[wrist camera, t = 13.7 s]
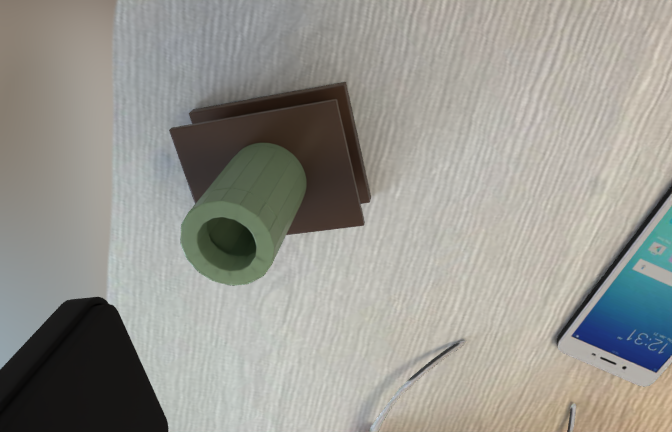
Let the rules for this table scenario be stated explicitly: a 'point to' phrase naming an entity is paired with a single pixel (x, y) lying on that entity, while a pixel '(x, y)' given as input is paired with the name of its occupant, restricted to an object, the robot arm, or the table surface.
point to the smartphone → (630, 308)
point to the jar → (244, 215)
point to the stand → (292, 134)
